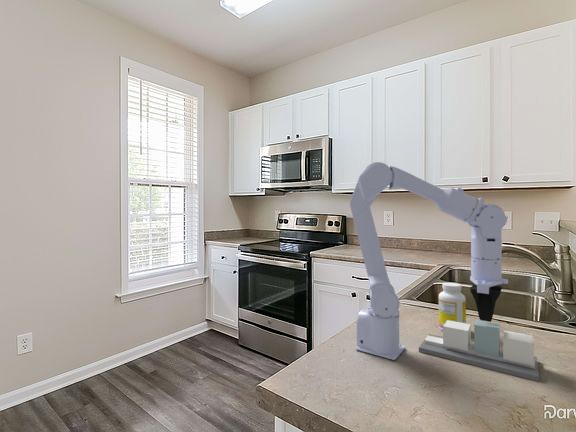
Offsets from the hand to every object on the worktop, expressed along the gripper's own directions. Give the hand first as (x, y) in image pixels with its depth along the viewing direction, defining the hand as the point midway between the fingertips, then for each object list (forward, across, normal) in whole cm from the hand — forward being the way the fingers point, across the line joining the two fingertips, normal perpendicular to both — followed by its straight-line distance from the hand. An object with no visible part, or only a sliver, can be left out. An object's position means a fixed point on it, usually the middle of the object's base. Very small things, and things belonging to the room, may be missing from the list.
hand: (486, 319), depth 69 cm
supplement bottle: (+9, +14, +9) cm, 19 cm away
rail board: (+9, 0, +2) cm, 9 cm away
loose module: (+7, 0, 0) cm, 7 cm away
